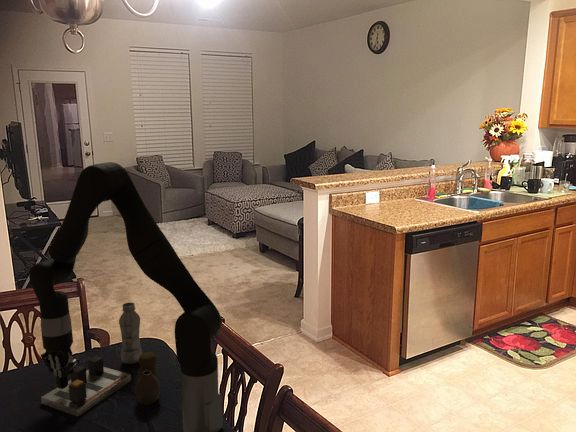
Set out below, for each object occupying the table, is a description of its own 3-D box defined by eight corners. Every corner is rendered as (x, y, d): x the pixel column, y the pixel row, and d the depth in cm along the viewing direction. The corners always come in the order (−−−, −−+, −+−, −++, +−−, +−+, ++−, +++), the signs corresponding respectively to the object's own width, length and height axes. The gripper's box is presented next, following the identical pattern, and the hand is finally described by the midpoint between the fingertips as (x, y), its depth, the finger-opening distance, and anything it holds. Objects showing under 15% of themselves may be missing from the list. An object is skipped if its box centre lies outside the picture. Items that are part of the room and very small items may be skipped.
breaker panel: (131, 380, 146) (129, 361, 145) (77, 416, 128) (75, 394, 127) (97, 370, 152) (95, 351, 151) (41, 403, 134) (39, 382, 133)
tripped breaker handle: (86, 397, 133) (85, 381, 132) (77, 403, 131) (76, 386, 130) (78, 394, 134) (77, 378, 133) (70, 400, 132) (68, 383, 131)
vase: (135, 409, 132) (133, 380, 130) (136, 395, 138) (134, 368, 136) (161, 405, 133) (159, 377, 132) (160, 392, 140) (159, 364, 138)
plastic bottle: (120, 359, 159) (116, 302, 155) (141, 355, 162) (137, 299, 158) (122, 368, 153) (118, 309, 149) (144, 364, 156) (140, 306, 152)
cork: (154, 395, 138) (152, 360, 136) (134, 393, 140) (132, 358, 137) (163, 384, 144) (161, 350, 142) (145, 382, 145) (143, 348, 143)
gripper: (85, 328, 132) (90, 386, 135) (51, 320, 137) (57, 375, 141) (62, 339, 125) (68, 399, 128) (28, 330, 131) (34, 388, 134)
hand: (62, 387), depth 135 cm, fingers closed
